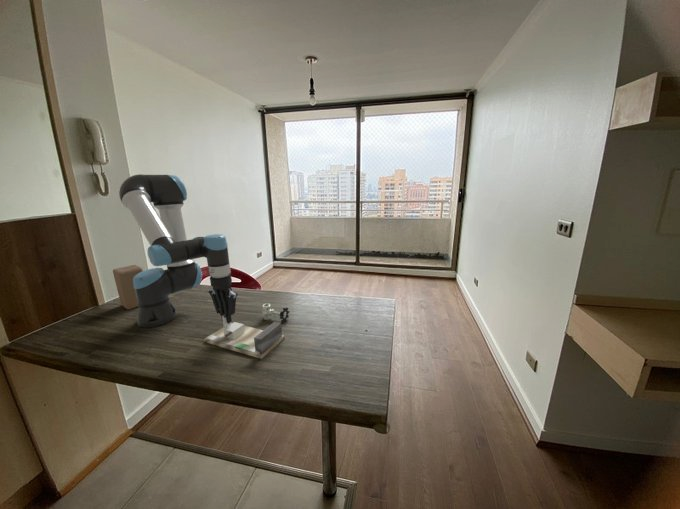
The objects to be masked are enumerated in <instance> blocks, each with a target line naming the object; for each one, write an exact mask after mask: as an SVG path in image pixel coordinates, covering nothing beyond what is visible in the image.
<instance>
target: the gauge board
mask: <svg viewBox="0 0 680 509" xmlns="http://www.w3.org/2000/svg"><path fill="white" fill-rule="evenodd" d="M232 323H233V321H232V322H231V324H232ZM244 328H245V332H244V333H243V334H241V335H240V336H239V337H237V338H236V339H234V340H233V339H230V338H226V337H224V331H223V329H224V326H223V327H221V328H220V329H218V330H217V331H216V332H213V333H212V334H210V335H208V336H206V337H205V338H204V342H205V343H207V344H211V345H214V346H217V347H220V348H224V349H226V350H230V351H234V352H237V353H240V354H243V355H247V356H250V357H254V358H257V359H260V360H263V359H264V358H265V357H266V356H268V354H269V353H271V351H273V350H274V348H276V347H277V346H278V345H279V344H280V343H281V342H282V341H284V339H285V338H286V337H285V335H284V334H282V322H277V321H273V323H271V324H270V325H269V326H267V327H266V328H265V329H263V330H262V329H259V328H256V327H252V326H249V325H248V326H247V325H244Z"/></svg>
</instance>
